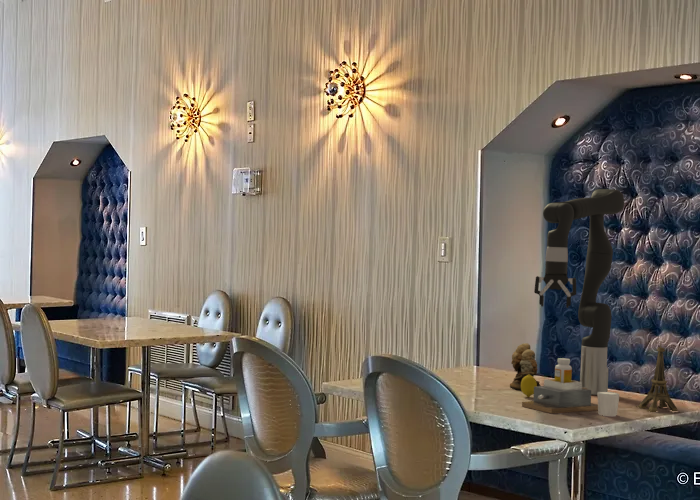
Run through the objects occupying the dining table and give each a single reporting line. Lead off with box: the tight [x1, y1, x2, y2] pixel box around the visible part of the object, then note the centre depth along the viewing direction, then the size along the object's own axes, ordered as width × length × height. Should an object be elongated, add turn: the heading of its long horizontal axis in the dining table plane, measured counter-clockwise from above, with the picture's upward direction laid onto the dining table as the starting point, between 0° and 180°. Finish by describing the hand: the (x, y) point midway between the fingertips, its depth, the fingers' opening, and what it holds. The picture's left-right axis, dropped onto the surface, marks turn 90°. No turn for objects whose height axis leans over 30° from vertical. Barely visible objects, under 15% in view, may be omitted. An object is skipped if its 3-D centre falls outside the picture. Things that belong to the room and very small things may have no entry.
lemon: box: [520, 375, 537, 398], centre depth 346 cm, size 6×6×8 cm
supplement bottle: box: [554, 357, 573, 383], centre depth 324 cm, size 5×5×10 cm
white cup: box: [596, 391, 621, 417], centre depth 315 cm, size 7×7×7 cm
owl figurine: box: [509, 342, 542, 392], centre depth 367 cm, size 18×12×17 cm, turn 0°
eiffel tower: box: [636, 342, 679, 413], centre depth 329 cm, size 11×11×25 cm
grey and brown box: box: [521, 378, 598, 415], centre depth 324 cm, size 22×14×9 cm, turn 121°
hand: (554, 307), depth 343 cm, fingers open, 8 cm apart
